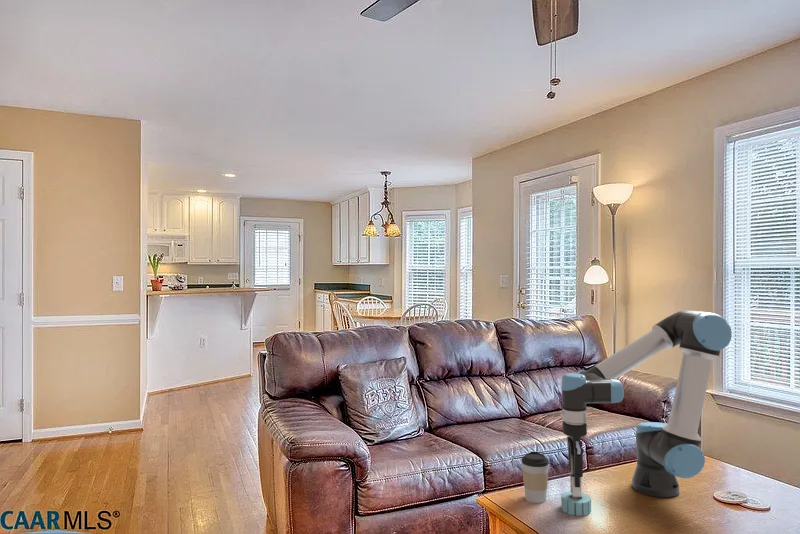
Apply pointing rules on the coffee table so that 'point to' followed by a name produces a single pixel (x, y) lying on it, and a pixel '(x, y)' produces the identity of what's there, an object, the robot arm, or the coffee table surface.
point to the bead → (576, 504)
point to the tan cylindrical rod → (571, 480)
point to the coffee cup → (535, 476)
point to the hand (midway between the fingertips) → (575, 493)
